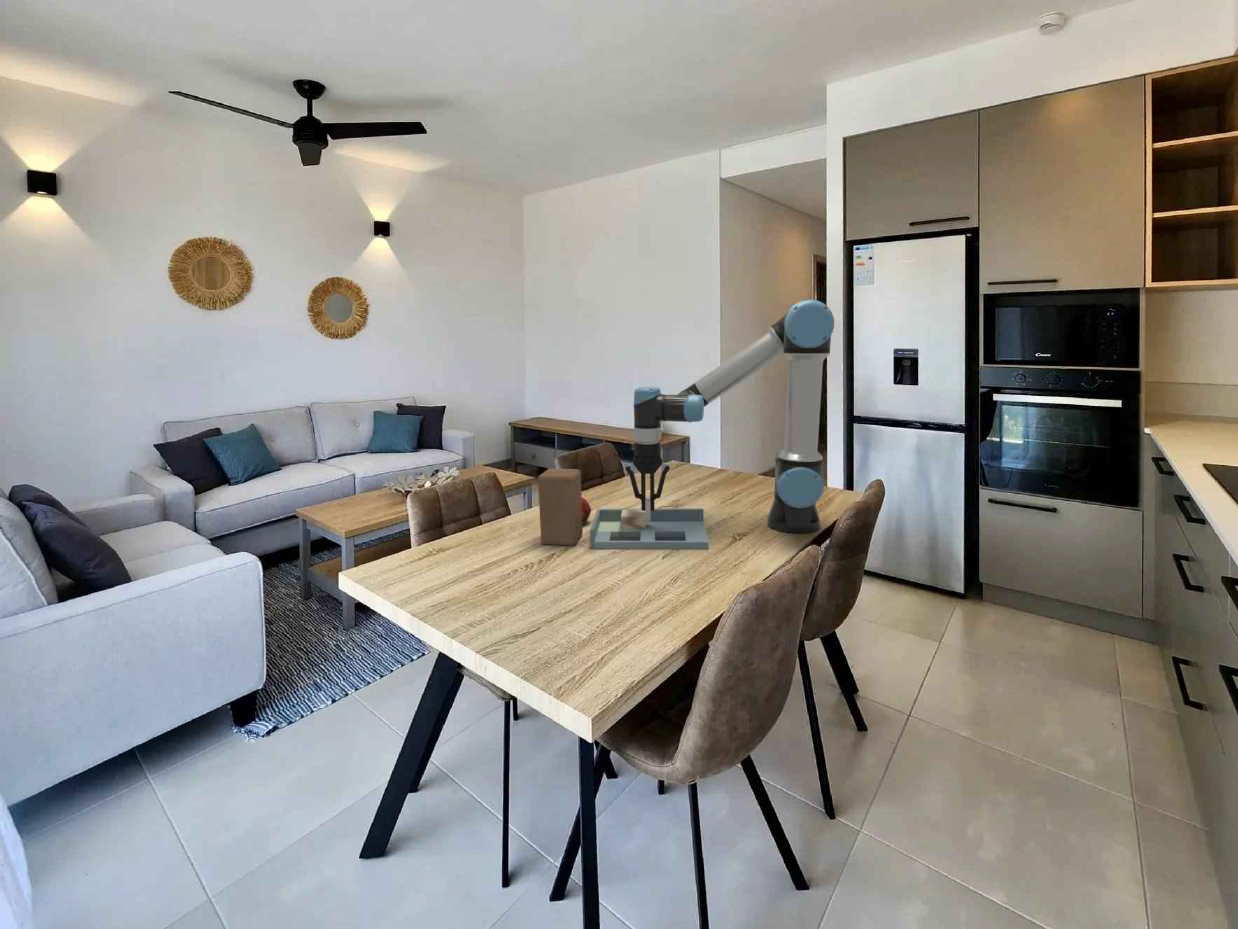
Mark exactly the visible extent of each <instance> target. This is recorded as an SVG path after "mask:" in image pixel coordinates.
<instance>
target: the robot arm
mask: <svg viewBox="0 0 1238 929" xmlns="http://www.w3.org/2000/svg"><path fill="white" fill-rule="evenodd" d="M834 328H835V318H834V315H833V312H832V310H831V309H830V308H829V307H828V306H827V304H826V303H823V302H822V301H820V300H817V299H805V300H804V299H803V300H801V301H798V302H797V303H795V304H794V305H793V306H792V307H791V308H790V309H789V310H787V312H786V313H785V314H784V315H783V316H782V317H780V319H778V320H777V321H776V322H775V323H773V324H771V325H770V326H769V329H768V332H767V333H765V334H763V335H762V336H761V337H759V338H757V340H755V341H754V342H752V343H751V344H749V345H747V346H746V347H745V348H743V349H742V350H740V351H739V352H737V353H736V354H734V355H733V356H732V357H730V358H729V359H727V360H726V361H725V362H723V363H721V364H720V365H719V366H717V367H716V368H714V369H713V370H711V371H710V372H709V373H707V374H706V375H705V374H704V375H703V376H702V377H701V378H700V379H698V380H697V381H695V382H694V383H693V384H691V385H689V386H688V387H686V388H685V389H683V390H681V391H680V392H679V393H678V394H664V393H662V392H661V388H660V387H658V386H641V387H637V388H635V390H634V392H633V393H634V397H633V403H632V404H633V420H634V421H633V424H634V425H633V426H634V427H633V436H634V437H633V440H634V441H635V442H634V445H633V446H634V447H633V448H634V451H633V452H634V453H633V454H634V457H633V459H632V462H631V463H629V464H626V466H625V471H626V472H627V474H628V475H629V479H630V483H631V487H632V490H633V495H634V497H635V499H639V500H640V502H641V505H640V506H641V507H640V509H642V511H645V522H651V511H654V509H655V500H657V499H660V498H661V496H662V494H663V493H662V492H663V488H664V485H665V481H666V477H667V474H668V473H669V471H670V468H671V467H670V464H666V463H665V462H663V459H662V456H661V454H662V450H661V448H662V444H661V442H660V441H661V440H662V439H661V438H662V436H661V435H662V434H661V433H662V432H661V431H662V430H661V429H662V428H661V423H662V422H676V423H677V422H680V423H681V422H682V423H683V422H685V423H693V422H694V423H695V422H696V423H697V422H698V423H699V422H702V421H703V419H704V411H705V407H706V406H708V405H709V404H711V403H712V402H714V401H715V400H717V399H719V397H721V396H723V395H724V394H726V393H728V392H729V391H730V390H731V389H733V388H735V387H736V386H738V385H739V384H741V383H743V382H744V381H746V380H747V379H748V378H750V377H751V376H754V374H756V373H757V372H759V371H761V370H762V369H763V368H765V367H767V366H769V365H770V364H771V363H772V362H775V361H776V360H777V359H779V358H780V357H781V356H785V358H786V359H788V370H787V371H788V373H787V388H786V389H787V390H786V392H787V393H786V407H785V408H786V412H785V428H784V430H785V431H784V449H781V450H777V451H776V453H775V458H774V462H775V468H774V469H775V470H774V471H775V472H774V495H773V496H774V499H773V502H772V505H771V507H770V510H769V512H768V516H767V522H766V523H767V526H768V527H770V528H771V529H773V530H776V531H778V532H779V531H780V532H784V533H792V534H806V533H813V532H815V531H818V530H819V529H820V528H821V526H820V525H821V519H820V516H819V511H818V508H817V505H816V503H817V502H818V501H819V500H820V499H821V497H822V495H823V491H824V481H823V462H824V460H823V459H824V458H823V455H821V453H820V452H819V451H818V446H819V430H820V415H821V401H822V400H821V398H822V386H823V385H822V384H823V383H822V382H823V369H824V368H823V367H824V361H825V359H826V358H828V356H830V353H831V342H832V334H833V332H834ZM660 467H661V468H660ZM635 468H636V470H637V471H638V472H639V473H640V491H639V488H638V484H637V479H636V476H635V472H634V471H635ZM659 469H661V470H660V471H661V473H660V478H659V481H658V486H657V489H656V493H655V473H657V471H658V470H659ZM646 475H649V484H650V485H649V498H647V496H646V495H647V494H646V492H647V491H646V488H647V487H646Z"/></svg>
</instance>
